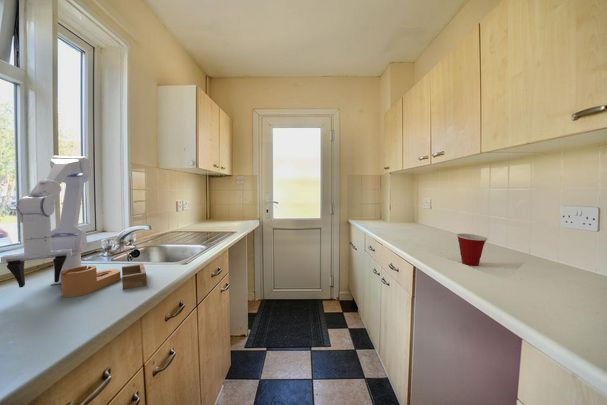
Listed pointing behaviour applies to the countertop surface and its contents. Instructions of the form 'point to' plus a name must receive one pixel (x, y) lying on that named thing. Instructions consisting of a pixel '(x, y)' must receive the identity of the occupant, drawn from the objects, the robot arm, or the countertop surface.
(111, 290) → the countertop surface
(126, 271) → the jig
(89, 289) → the bracket
